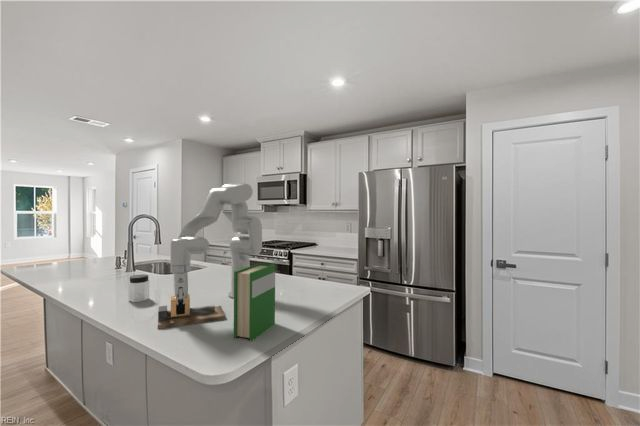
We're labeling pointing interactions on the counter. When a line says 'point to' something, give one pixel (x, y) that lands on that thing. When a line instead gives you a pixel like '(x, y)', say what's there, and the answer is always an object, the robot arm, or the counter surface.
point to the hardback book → (254, 300)
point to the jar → (138, 288)
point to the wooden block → (174, 303)
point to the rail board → (189, 316)
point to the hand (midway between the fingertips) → (180, 311)
